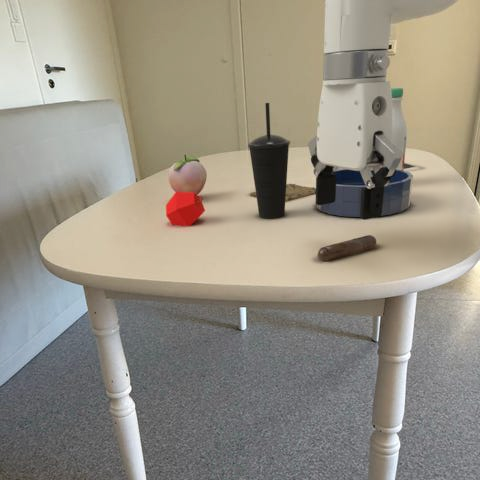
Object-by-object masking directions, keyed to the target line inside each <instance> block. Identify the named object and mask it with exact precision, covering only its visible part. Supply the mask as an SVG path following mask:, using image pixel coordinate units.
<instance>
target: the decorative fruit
mask: <svg viewBox="0 0 480 480" xmlns="http://www.w3.org/2000/svg"><path fill="white" fill-rule="evenodd" d="M207 177H208V174H207V169H206V168H205V166H204V165H203V164H202V163H201V161H200V160H199V159H198V158H197V157H188V158H187V155H186V154H184V159H183V160H179V161H177V162H174V163H173V164H172V165H171V167H170V168H169V170H168V173H167V179H168V184H169V185H170V187H171V189H172V190H173V192H175V193H176V192H188V193H195V194H196V195H198V196H199V194H201V192H202V191H203V189H204V187H205V184H206V182H207Z"/></svg>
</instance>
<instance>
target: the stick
mask: <svg viewBox="0 0 480 480" xmlns="http://www.w3.org/2000/svg"><path fill="white" fill-rule="evenodd" d="M377 243H378V242H377V238H376V237H375V236H374V235H371V234H368V235H364V236H360V237H357V238H352V239H348V240H344V241H341V242H337V243H333V244H329V245H326V246H322V247H320V248H319V249H318V251H317V258H318V260H319V261H321V262H329V261H334V260H337V259H341V258H345V257H348V256H352V255H355V254H359V253H362V252H366V251H370V250H373V249H375V248H376V247H377Z"/></svg>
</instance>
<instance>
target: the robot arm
mask: <svg viewBox="0 0 480 480" xmlns="http://www.w3.org/2000/svg"><path fill="white" fill-rule="evenodd" d="M458 1H459V0H325V1H324V2H325V3H324V34H323V35H324V37H323V38H324V39H323V67H322V68H323V69H322V70H323V71H322V88H321V94H320V99H319V107H318V116H317V126H316V135H315V136H314V137H313V138H312V139H311V140H310V141H308V144H307V146H308V150H309V154H310V156H311V157H310V162H311V164H312V167H313V168H314V169H313V176H314V177H315V188H316V194H315V205H316V204H317V205H324V204H329V203H333V202H335V197H336V174H333V172H334V171H335V169H336V167H338V168H344V169H349V170H355V171H360V173H361V176H362V178H363V180H364V183H365V185H366V188H362V193H361V207H360V217H359V218H360V219H361V220H364V221H365V220H371V219H374V218H375V219H376V218H379V217H382V216H381V214H382V206H383V195H384V186H387V185H388V184H389V180H390V179H391V178H392V177H393V176H394V175H395V173H396V169H397V167H398V165H399V163H400V161H401V159H402V156H403V154H402V152H401V151H400V150H399V149H398V148H397V147H396V146H395V145H394V144H393V143H392V122H393V118H392V93H391V88H392V87H391V81H390V80H389V81H387V71H388V68H389V67H390V64H391V59H390V56H389V48H390V47H389V46H390V37H391V36H390V35H391V25H392V24H398V23H403V22H406V21H410V20H414V19H421V18H425V17H428V16H433V15H435V14H439V13H441V12H444V11H446V10H447V9H449V8H451V7H452V6H454V4H456V3H457V2H458ZM371 170H374V172H375V175H374V176H373V175H372V173H371ZM317 176H318V177H317Z"/></svg>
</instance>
